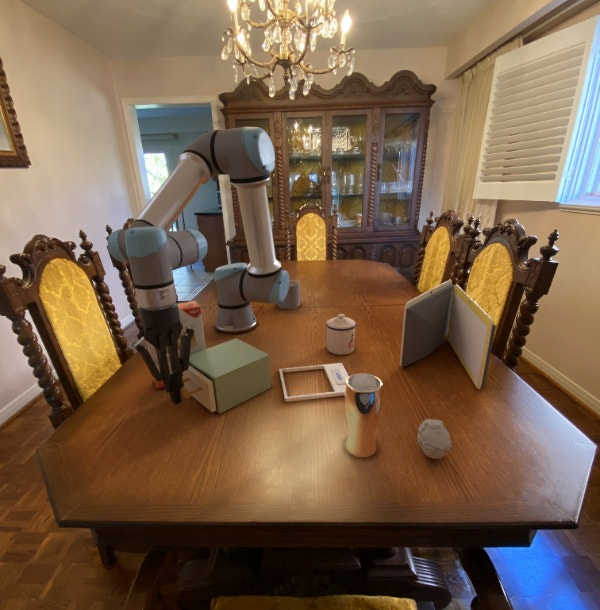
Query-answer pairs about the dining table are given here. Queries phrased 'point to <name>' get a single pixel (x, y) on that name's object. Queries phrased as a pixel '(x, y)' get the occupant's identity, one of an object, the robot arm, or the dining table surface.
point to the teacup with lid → (340, 335)
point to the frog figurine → (434, 438)
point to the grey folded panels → (462, 329)
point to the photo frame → (334, 374)
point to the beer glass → (362, 413)
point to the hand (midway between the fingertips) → (176, 401)
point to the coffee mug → (291, 296)
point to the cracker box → (190, 318)
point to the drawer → (199, 387)
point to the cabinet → (234, 371)
